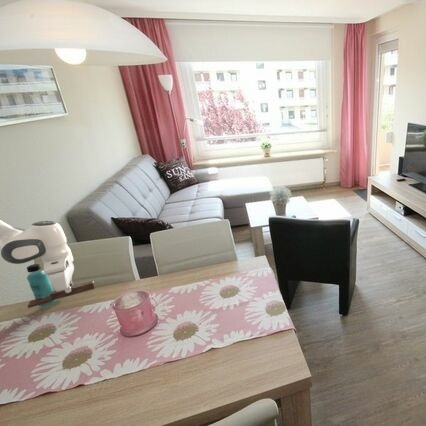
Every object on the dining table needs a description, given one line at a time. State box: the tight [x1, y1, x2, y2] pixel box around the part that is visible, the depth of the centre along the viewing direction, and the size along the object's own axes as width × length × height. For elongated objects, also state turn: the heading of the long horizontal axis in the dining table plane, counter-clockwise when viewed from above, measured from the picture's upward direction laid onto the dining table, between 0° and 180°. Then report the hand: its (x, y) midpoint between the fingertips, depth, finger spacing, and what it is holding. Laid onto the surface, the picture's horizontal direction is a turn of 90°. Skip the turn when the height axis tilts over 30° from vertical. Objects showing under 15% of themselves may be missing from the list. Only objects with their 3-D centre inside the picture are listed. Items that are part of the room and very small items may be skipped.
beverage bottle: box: [26, 263, 58, 308], centre depth 126 cm, size 6×7×20 cm
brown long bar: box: [27, 280, 96, 309], centre depth 119 cm, size 21×4×3 cm, turn 122°
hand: (69, 289), depth 120 cm, fingers closed on brown long bar, 2 cm apart
